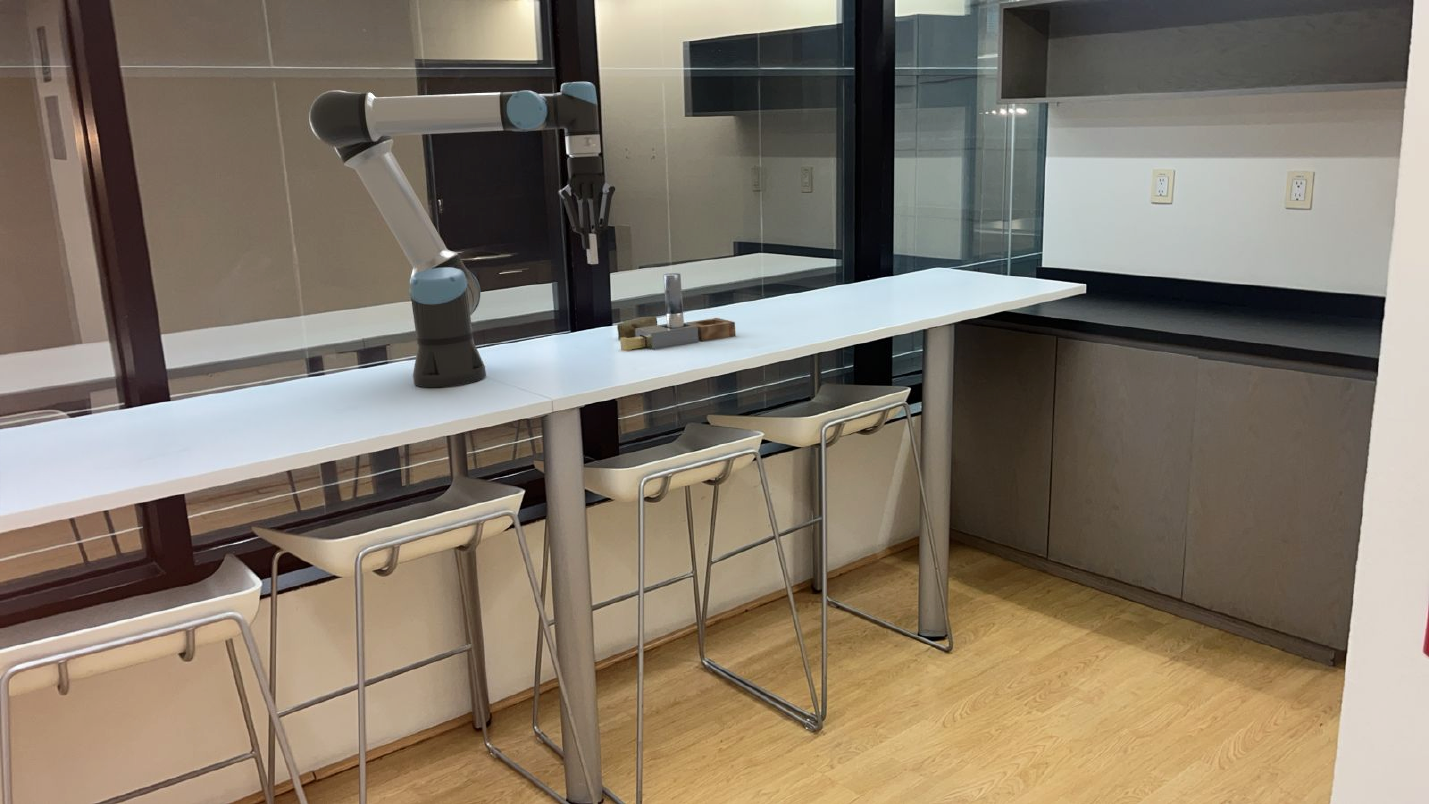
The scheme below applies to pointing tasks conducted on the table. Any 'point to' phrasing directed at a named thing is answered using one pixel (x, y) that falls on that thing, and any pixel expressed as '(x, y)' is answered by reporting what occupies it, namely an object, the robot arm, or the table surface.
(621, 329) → the stone block
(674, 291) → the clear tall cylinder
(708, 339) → the brown wooden open box
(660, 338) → the socket
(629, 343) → the tan wooden bar
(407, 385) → the table surface
